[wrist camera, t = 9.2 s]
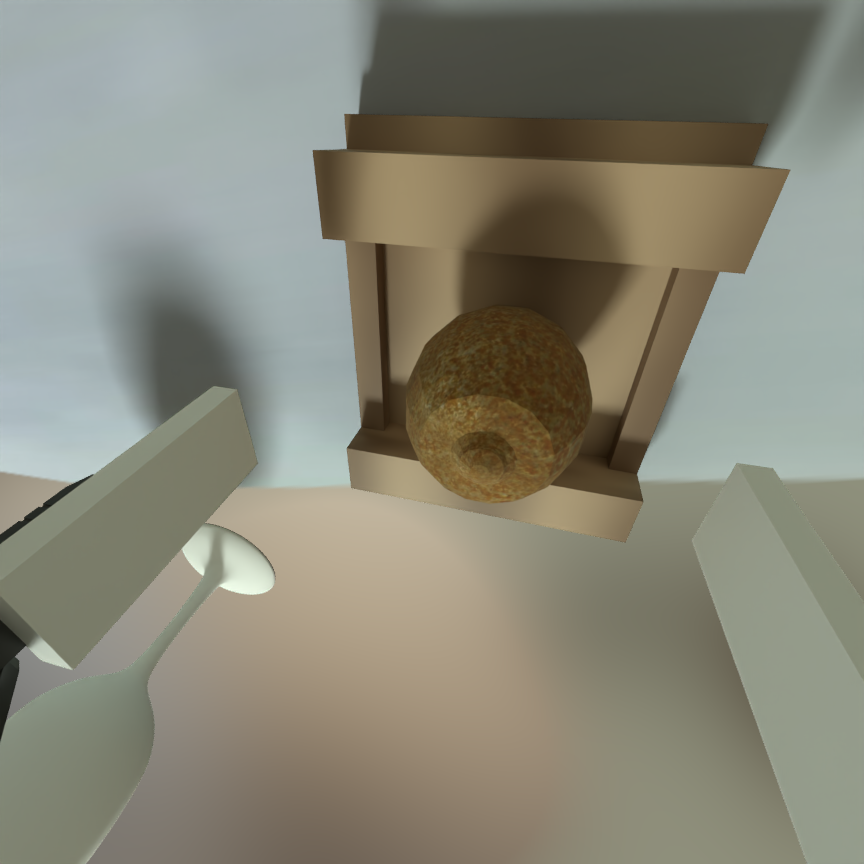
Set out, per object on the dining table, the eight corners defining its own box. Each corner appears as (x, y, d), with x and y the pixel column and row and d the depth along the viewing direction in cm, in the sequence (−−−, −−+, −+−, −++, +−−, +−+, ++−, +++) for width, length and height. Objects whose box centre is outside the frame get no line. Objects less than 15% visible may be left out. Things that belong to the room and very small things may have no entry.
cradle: (378, 457, 24) (353, 502, 21) (357, 115, 15) (307, 108, 12) (610, 500, 22) (619, 557, 19) (752, 125, 13) (812, 119, 10)
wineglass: (240, 519, 31) (-122, 948, 15) (294, 592, 36) (59, 992, 19) (162, 524, 35) (-209, 881, 18) (219, 591, 39) (-39, 931, 22)
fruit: (512, 439, 20) (492, 578, 14) (409, 358, 19) (334, 468, 13) (620, 347, 16) (661, 479, 10) (500, 241, 15) (460, 312, 9)
